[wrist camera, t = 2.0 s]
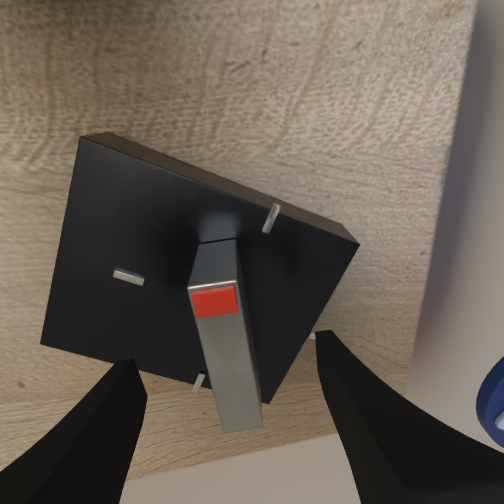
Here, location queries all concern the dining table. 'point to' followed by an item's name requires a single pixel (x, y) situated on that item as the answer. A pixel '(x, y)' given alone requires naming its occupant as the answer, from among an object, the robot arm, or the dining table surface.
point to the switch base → (181, 263)
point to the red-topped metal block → (226, 334)
